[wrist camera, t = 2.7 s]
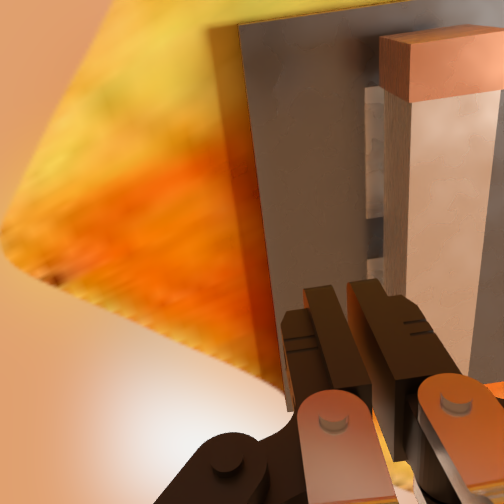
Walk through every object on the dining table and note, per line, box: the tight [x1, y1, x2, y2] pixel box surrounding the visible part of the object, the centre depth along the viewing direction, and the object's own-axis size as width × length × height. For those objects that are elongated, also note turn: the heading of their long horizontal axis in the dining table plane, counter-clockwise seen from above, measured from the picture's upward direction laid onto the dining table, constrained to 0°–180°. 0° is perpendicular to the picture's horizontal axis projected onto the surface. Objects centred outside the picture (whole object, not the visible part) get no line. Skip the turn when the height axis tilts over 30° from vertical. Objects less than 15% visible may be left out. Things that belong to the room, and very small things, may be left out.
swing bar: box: [379, 24, 504, 465], centre depth 29 cm, size 28×4×6 cm, turn 7°
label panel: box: [237, 0, 504, 412], centre depth 32 cm, size 28×18×2 cm, turn 7°
